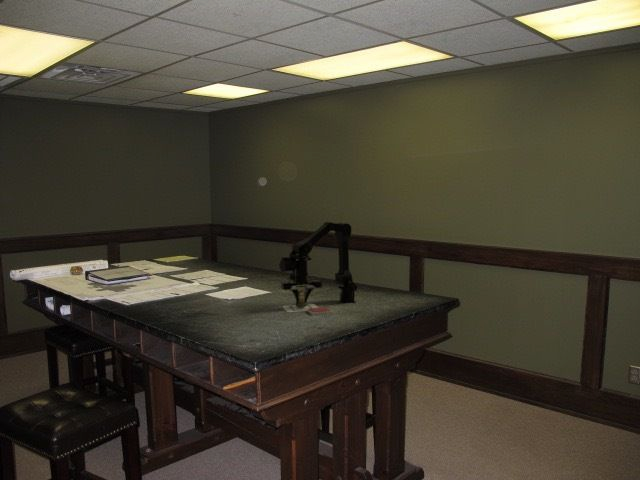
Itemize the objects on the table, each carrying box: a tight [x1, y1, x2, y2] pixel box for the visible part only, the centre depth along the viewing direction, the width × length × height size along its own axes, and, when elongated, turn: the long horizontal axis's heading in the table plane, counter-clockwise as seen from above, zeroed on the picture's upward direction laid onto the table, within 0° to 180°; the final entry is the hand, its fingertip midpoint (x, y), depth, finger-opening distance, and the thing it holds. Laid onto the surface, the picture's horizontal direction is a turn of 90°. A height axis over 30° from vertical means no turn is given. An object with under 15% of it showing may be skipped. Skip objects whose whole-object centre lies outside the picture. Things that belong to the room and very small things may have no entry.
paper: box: [281, 303, 320, 314], centre depth 240 cm, size 16×12×1 cm
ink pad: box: [306, 306, 334, 316], centre depth 233 cm, size 10×8×2 cm
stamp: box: [295, 289, 308, 307], centre depth 240 cm, size 5×5×8 cm
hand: (301, 302), depth 240 cm, fingers closed on stamp, 4 cm apart
